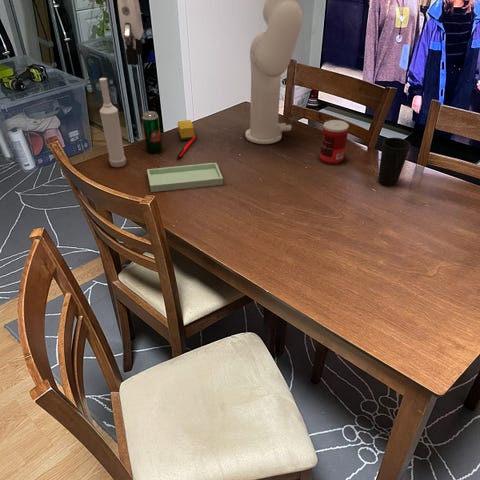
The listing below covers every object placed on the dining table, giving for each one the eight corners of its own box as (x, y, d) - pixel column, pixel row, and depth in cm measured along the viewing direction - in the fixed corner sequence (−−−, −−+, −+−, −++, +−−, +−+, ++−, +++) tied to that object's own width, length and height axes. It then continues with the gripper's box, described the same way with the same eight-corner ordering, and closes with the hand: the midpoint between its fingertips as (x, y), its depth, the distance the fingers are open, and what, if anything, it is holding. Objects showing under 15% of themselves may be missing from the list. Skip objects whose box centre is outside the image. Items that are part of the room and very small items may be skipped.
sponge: (191, 131, 168) (190, 119, 165) (194, 139, 163) (193, 127, 160) (179, 132, 168) (177, 121, 165) (181, 140, 163) (180, 129, 160)
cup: (381, 173, 147) (390, 135, 138) (404, 181, 143) (415, 142, 135) (369, 182, 143) (378, 143, 134) (393, 191, 139) (403, 151, 131)
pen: (176, 160, 152) (176, 156, 151) (195, 135, 165) (195, 132, 165) (178, 160, 152) (178, 156, 151) (197, 136, 165) (197, 132, 165)
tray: (216, 168, 148) (216, 162, 147) (223, 184, 141) (222, 178, 140) (147, 175, 145) (147, 169, 143) (151, 192, 138) (150, 185, 136)
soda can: (153, 155, 155) (148, 118, 146) (143, 150, 157) (138, 113, 149) (165, 150, 157) (161, 113, 149) (155, 146, 160) (150, 109, 151)
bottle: (117, 169, 148) (102, 83, 130) (106, 164, 150) (89, 79, 133) (130, 163, 151) (116, 78, 133) (118, 158, 153) (103, 74, 136)
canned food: (344, 155, 156) (350, 121, 148) (341, 166, 150) (347, 131, 143) (321, 152, 157) (325, 118, 150) (317, 162, 152) (321, 128, 144)
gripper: (136, -3, 124) (144, 68, 136) (143, -16, 136) (150, 50, 148) (106, -3, 124) (118, 68, 135) (116, -16, 136) (126, 51, 148)
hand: (135, 59), depth 142 cm, fingers open, 9 cm apart
